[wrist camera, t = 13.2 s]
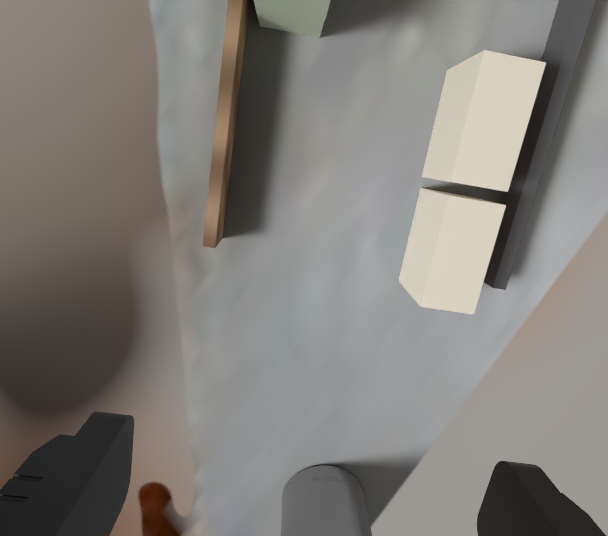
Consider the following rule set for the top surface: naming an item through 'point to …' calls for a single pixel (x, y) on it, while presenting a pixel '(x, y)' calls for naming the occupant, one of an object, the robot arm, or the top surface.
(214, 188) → the shelf back lip
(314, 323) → the top surface
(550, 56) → the rail
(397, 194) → the top surface
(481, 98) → the box
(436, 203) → the faced twin box
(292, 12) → the sage tea tin
